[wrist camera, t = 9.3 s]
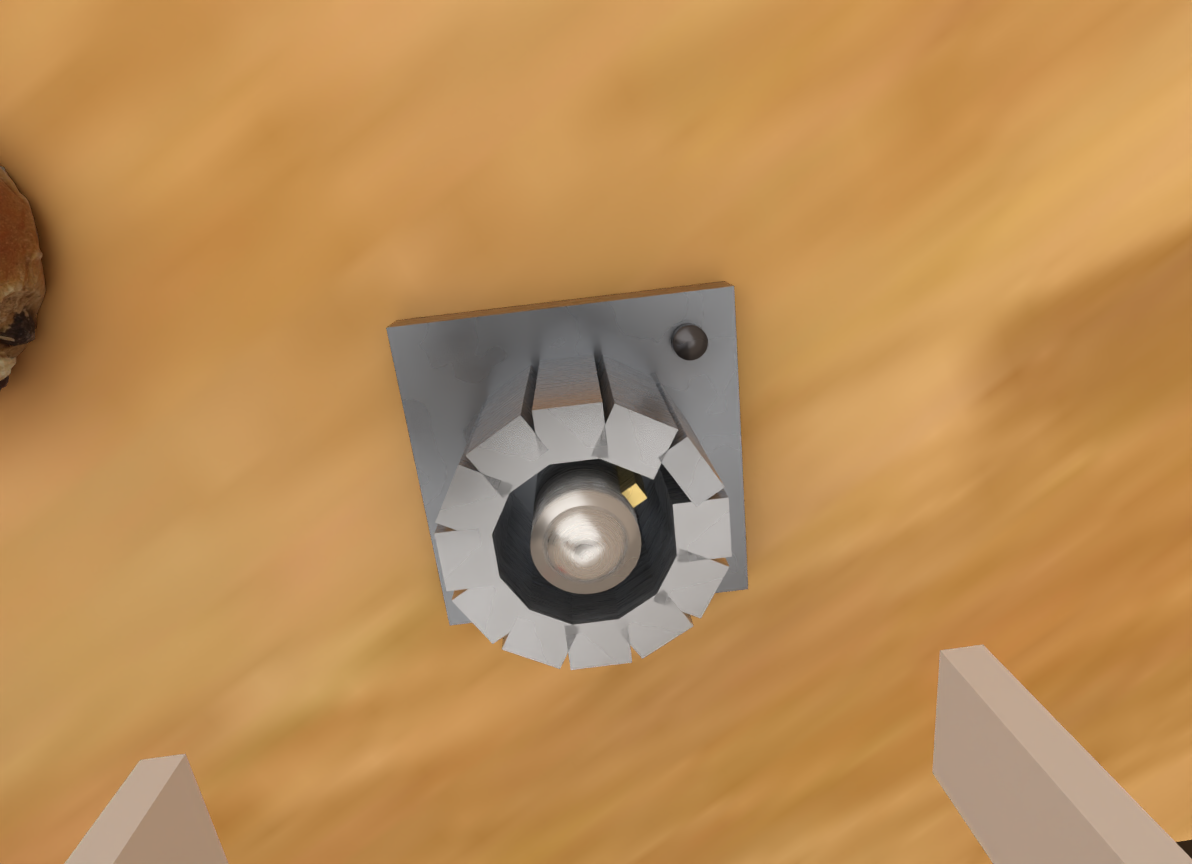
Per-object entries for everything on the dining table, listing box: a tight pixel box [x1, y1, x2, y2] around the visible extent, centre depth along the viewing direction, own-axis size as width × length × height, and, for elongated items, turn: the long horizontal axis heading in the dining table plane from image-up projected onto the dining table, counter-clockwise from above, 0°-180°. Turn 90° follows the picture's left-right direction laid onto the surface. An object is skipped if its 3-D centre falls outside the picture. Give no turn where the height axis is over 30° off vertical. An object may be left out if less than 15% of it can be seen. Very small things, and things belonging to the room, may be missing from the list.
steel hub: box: [434, 355, 732, 670], centre depth 23 cm, size 8×8×6 cm
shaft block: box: [386, 281, 748, 625], centre depth 23 cm, size 12×12×8 cm
